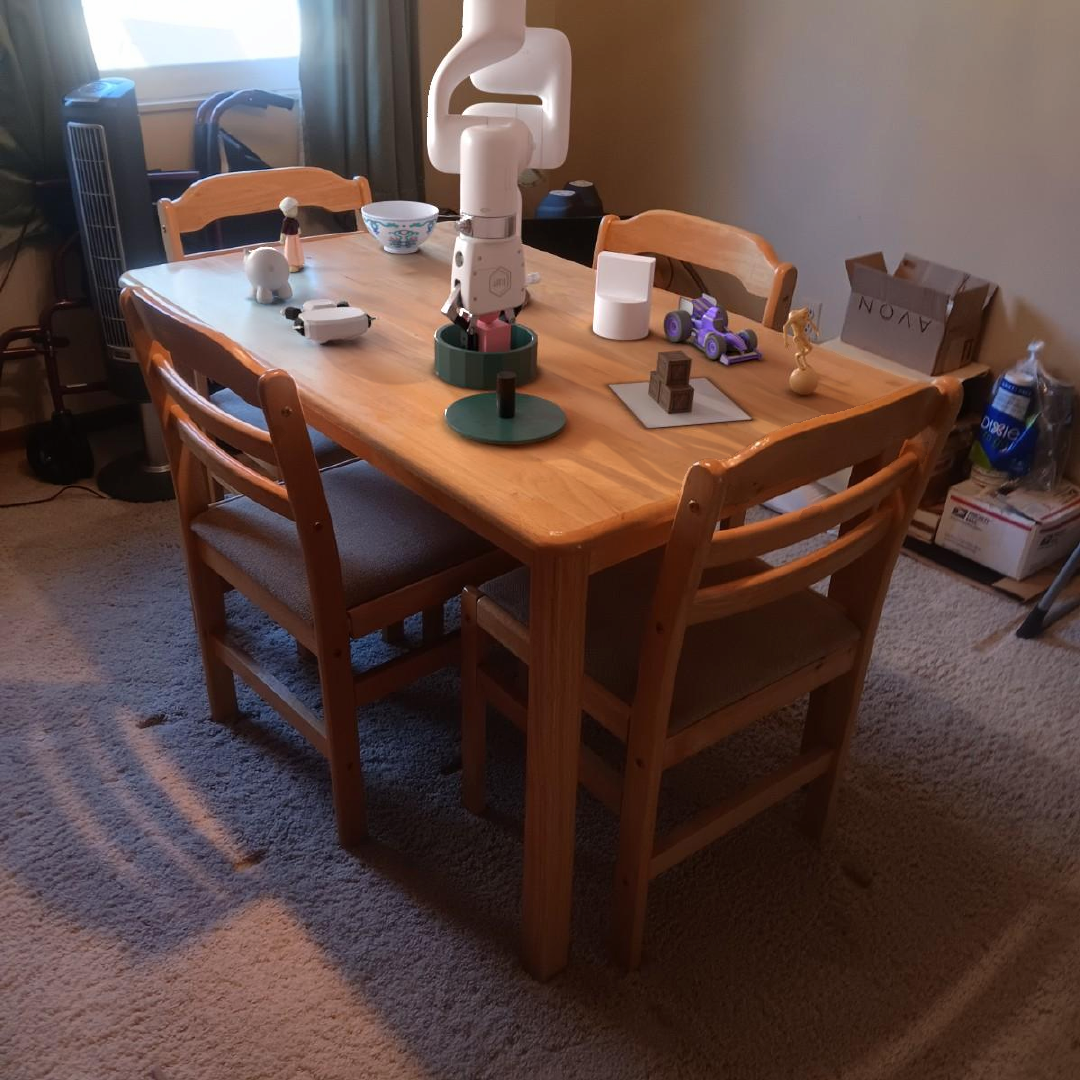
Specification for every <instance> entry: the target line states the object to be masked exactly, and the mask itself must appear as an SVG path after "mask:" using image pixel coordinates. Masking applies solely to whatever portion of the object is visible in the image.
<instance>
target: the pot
mask: <svg viewBox="0 0 1080 1080" xmlns="http://www.w3.org/2000/svg"><path fill="white" fill-rule="evenodd" d="M433 338H434V339H433V340H434V342H433V345H434V347H433V348H434V372H435V374H436V376H437V377H438V378H439V379H440V380H442V381H443V382H445V383H447V384H450V385H452V386H455V387H459V388H463V389H468V390H478V391H497V374H498V373H500V372H505V371H507V372H513V373H515V374H516V388H518V387H521V386H524V385H526V384H528V383H530V382H532V381H533V380H534V379H535V378H536V375H537V368H538V367H537V366H538V347H539V344H538V343H539V335H538V334H537V332H535V331H534V330H533V329H532V328H530V327H528V326H526V325H524V324H521V323H517V322H515V324H514V325H512V332H511V350H508V351H502V352H479V351H469V350H464V349H461V330H460V329H458V328H457V326H456V325H455V324H454V323H453V322H450V323H447V324H444V325H442V326H441V327H439V328H438V329H436V330H435V333H434V336H433Z"/></svg>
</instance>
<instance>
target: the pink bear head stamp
mask: <svg viewBox="0 0 1080 1080" xmlns="http://www.w3.org/2000/svg"><path fill="white" fill-rule="evenodd" d="M500 313H501V311H497V312H493V313H488V314H483V315H479V318H478V322H477V326H476V330H475V333H477V334H478V335H479V352H502V351H508V350H510V342H511V325H510V324H508V323H506V322H503V321H501V320H499V319H498V317H499V315H500ZM468 320H469V317H468ZM468 320H467V321H468Z"/></svg>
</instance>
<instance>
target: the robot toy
mask: <svg viewBox="0 0 1080 1080" xmlns="http://www.w3.org/2000/svg"><path fill="white" fill-rule="evenodd" d="M279 314H280V315H281V316H285V319H286V320H289V321H293V325H292V330H295V331H296V332H297V333H298V334H299V335H301V336H302V337H304V338H305V339H307V340H309V341H310V342H313V343H314V344H319V345H321V344H322V345H323V344H325V343H327V342H329V341H330V340H341V339H343V340H346V341H352V340H355V339H357V338H358V337H360V336H362V335H364V334H366V333H367V332H368V330H369V329H370V328H371V327H372V322H373V321H375V320H379V319H380V318H379V316H375V317H373V316H370V314H368V313H367V312H366V311H364V310H362V309H360V308H359V307H352V306H351V305H350V303H349V301H345V300H343V301H342V300H341V301H338V302H337V304H336V303H335V302H334V301H333V300H332V299H330V298H318V299H310V300H309V299H308V300H307V301H305V302H304V303H303V304H302V309H301V308H298V307H294V306H287V307H286V308H283V309H280V310H279Z"/></svg>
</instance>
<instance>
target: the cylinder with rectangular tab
mask: <svg viewBox="0 0 1080 1080" xmlns="http://www.w3.org/2000/svg"><path fill="white" fill-rule="evenodd" d="M656 260H657V259H656V257H652V256H651V257H650V256H643V255H636V254H630V253H629V254H628V253H621V252H616V251H615V252H614V251H607V250H603V251H601V252H599V254H597V267H596V281H595V294H594V308H593V321H592V322H593V323H592V330H593V332H594V333H595V334H596V335H598V336H599V337H602V338H606V339H610V340H616V341H635V340H640V339H644V338H645V337H647V336H648V334H649V329H650V321H651V309H652V299H653V289H654V279H655V271H656Z"/></svg>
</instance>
